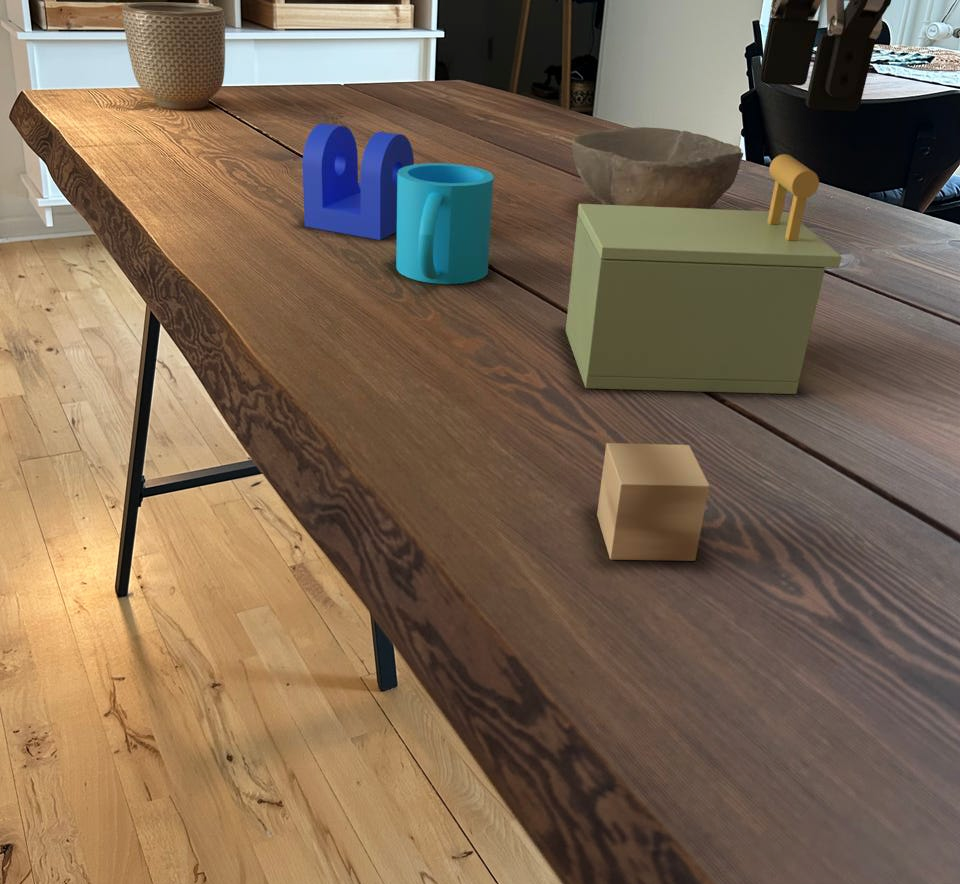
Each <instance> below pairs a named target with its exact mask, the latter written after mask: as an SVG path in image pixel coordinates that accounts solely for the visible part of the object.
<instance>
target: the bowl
mask: <svg viewBox="0 0 960 884" xmlns="http://www.w3.org/2000/svg"><path fill="white" fill-rule="evenodd" d="M571 151H572V156H573V162H574V164H575V168H576V170H577V173H578V175H579V176H580V179H581V180H582V183H583V185H584V186H585V188H586V190H587V191H588V193H589V194H590V195H591V196H592V197H593V199H595V200H597V202H599V203H600V204H601V205H623V206H647V207H671V208H695V209H711V207H712V206H714V205H715V203H717V202H718V201H719V199H720V198H721V197H722V196H723V195H724V194H725V193H726V192H727V191H728V190H729V189H730V188H731V187H732V186H733V185H734V183H735V180H736V178H737V175H738V172H739V170H740V166H741V162H742V159H743V157H744V152H743V151H742V148H741V147H740V146H738V145H734V144H731V143H728V142H723V141H721V140H719V139H716V138H713V137H710V136H708V135H704V134H700V133H693V132H691V131H688V130H682V131H681V130H678V129H673V128H671V129H670V128H661V127H647V126H645V127H643V126H642V127H640V126H639V127H618V128H611V129H604V130H603V129H601V130H596V131H595V130H594V131H588V132H584V133H581V134H579V135H575V137H573V138H572V140H571Z"/></svg>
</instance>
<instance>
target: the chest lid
mask: <svg viewBox="0 0 960 884" xmlns="http://www.w3.org/2000/svg"><path fill="white" fill-rule="evenodd" d="M768 171H769V175H770V177H771V179H773V180H774V181H775V182H774V186H773V190H772V196H771V201H770V206H769V210H767V211H764V210H743V209H742V210H741V209H740V210H738V209H720V208H719V209H718V208H716V209H715V208H708V209H695V208H671V207H647V206H623V205H603V204H596V203H578V206H577V216H579V217H580V219H581V221H582V223H583V225H584V227H585V229H586V231H587V233H588V235H589V237H590V239H591V241H592V243H593V245H594V247H595V249H596V250H597V252H598V254H599V256H600V258H601V259H618V260H645V261H671V262H698V263H725V264H752V265H779V266H805V267H824V268H834V269H838V268H840V264H841V260H842V255H841V254H840V253H838V251H836V250H835V249H834V248H833V247H831V246H830V245H829V244H828V243H826V242H825V241H824V240H823V239H822V238H820V236H818V235H817V234H816V233H815V232H813V230H811V229H810V228H809V227H807V226H806V225H805V224H804V223H803V222H802V221H803V217H804V212H805V207H806V204H807V199H809V198H810V197H812V196H814V195H815V193H816V192H817V191H818V189H819V185H820V179H819V176H818V174H817V173H816V172H814V171H813V170H812V169H810V168H809V167H807V166H806V165H804V164H803V163H802V162H800V161H799V160H797V159H796V158H794V157H793V156H791V155H789V154H786V153H783V154H779V155H777V156H775V157H774V158H773V159H772V160H771V162H770V164H769V169H768ZM787 192H789V193H790V194H791V195H793V197H792V202H791V206H790V211H789V212H787V211H783V208H784V205H785V200H786V196H787V195H786V194H787Z"/></svg>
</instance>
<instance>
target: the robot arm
mask: <svg viewBox="0 0 960 884" xmlns="http://www.w3.org/2000/svg"><path fill="white" fill-rule="evenodd" d="M822 2H823V0H772V1H771V6H770V17H769V21H768V26H767V32H766V37H765V38H766V39H765V43H764V48H763V52H762V57H761V58H762V59H761V64H760V69H759V74H758V78H759V81H760V82H761V83H763V84H767V85H768V84H769V85H770V84H771V85H783V86H785V85H786V86H797V87H799V86H804V85H805V84H806V82H807V81H808V78H809V77H808V76H809V71H810V67H811V64H812V69H811V74H810V79H809V83H808V87H807V92H806V97H805V105H806V107H807V108H810V109H811V110H822V111H837V112H839V111H840V112H841V111H842V112H855V111H857V110H859V108H860V106H861V103H862V98H863V95H864V90H865V86H866V82H867V78H868V74H869V71H870V66H871V62H872V57H873V54H874V49H875V45H876V41H877V39H878V38H879V37H880V35H881V31H882V27H883V15H884V14H885V12H886V11H887V9H888V7H890V6H891V3H892V0H825V4H826V5H825V7H826V26H827V28H826V29H827V34H819V37H818V41H817V46H816V51H815V55H814V59H813V63H811V62H812V57H813V53H814V48H815V44H816V40H817V36H818V35H817V34H818V29H819V24H820V20H817V19H816V20H815V19H814V18H815V16H816V14H817V12H818V10H819V8H820V6H821V4H822ZM845 2H847V4H846V6H845Z"/></svg>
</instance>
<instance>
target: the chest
mask: <svg viewBox="0 0 960 884" xmlns="http://www.w3.org/2000/svg"><path fill="white" fill-rule="evenodd" d="M576 217H577V218H576V226H575V227H576V228H575V237H574V246H573V256H572V263H571V264H572V266H571V275H570V284H569V295H568V303H567V315H566V321H565V322H566V324H565V333H566V336H567V339H568V342H569V345H570V348H571V351H572V354H573V356H574V359H575V362H576V365H577V368H578V370H579V374H580V377H581V380H582V382H583V385H584V388H585V389H591V390H593V389H598V390H599V389H600V390H628V391H629V390H632V391H633V390H634V391H665V392H666V391H667V392H669V391H670V392H700V393H701V392H703V393H704V392H705V393H738V394H739V393H741V394H773V395H775V394H778V395H780V394H781V395H797V392H798V388H799V383H800V378H801V374H802V369H803V365H804V361H805V358H806V357H805V356H806V352H807V348H808V343H809V339H810V335H811V330H812V327H813V322H814V318H815V313H816V311H817V310H816V309H817V305H818V301H819V296H820V291H821V287H822V285H823V284H822V283H823V279H824V275H825V270H826V269H825V268H826V267H805V266H779V265H752V264H725V263H698V262H671V261H645V260H618V259H601V258H600V256H599V254H598V252H597V250H596V249H595V247H594V245H593V243H592V241H591V239H590V237H589V235H588V233H587V231H586V229H585V227H584V225H583V223H582V221H581V219H580V217H579V215H577V216H576Z"/></svg>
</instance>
